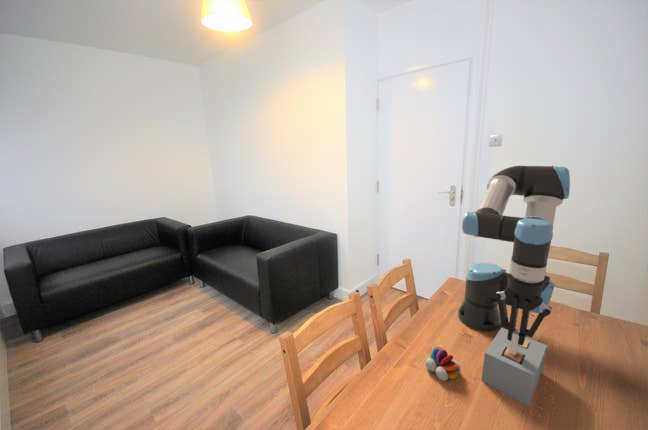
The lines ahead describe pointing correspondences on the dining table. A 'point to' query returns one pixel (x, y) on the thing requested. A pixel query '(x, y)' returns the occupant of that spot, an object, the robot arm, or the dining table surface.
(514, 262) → the robot arm
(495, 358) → the socket block
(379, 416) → the dining table surface
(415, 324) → the dining table surface
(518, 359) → the peg
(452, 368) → the rainbow disc toy
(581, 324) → the dining table surface
